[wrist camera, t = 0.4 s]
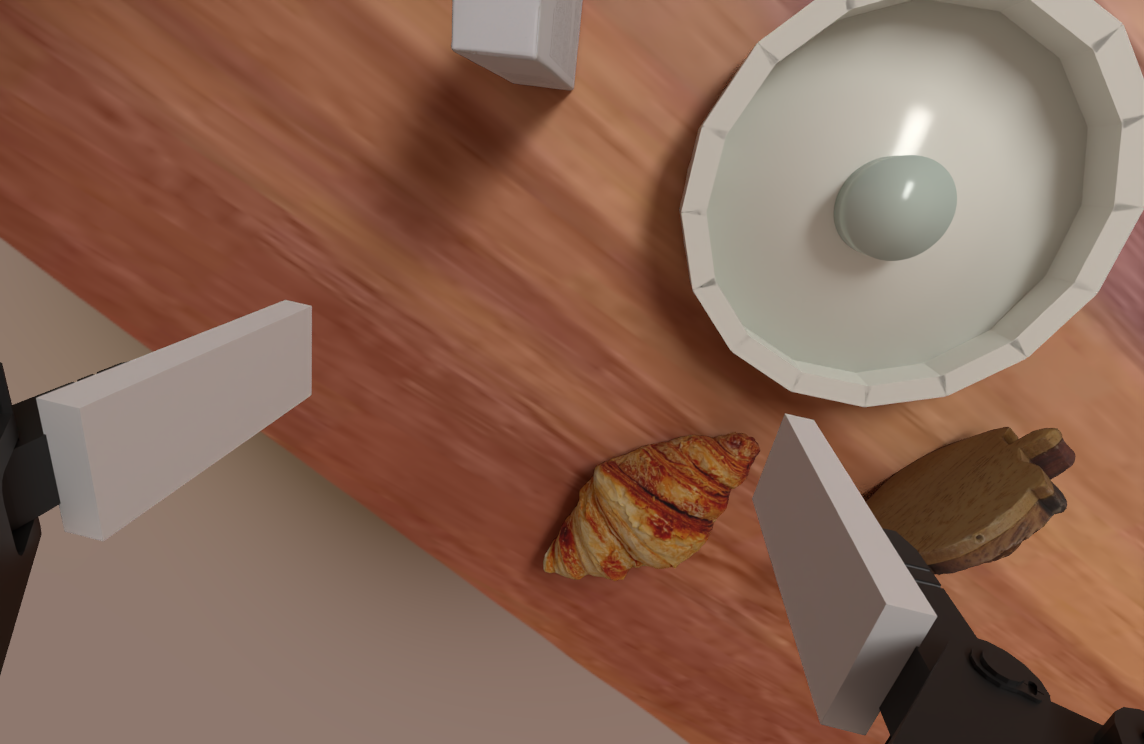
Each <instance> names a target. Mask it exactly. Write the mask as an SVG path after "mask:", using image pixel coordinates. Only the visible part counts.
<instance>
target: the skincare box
mask: <svg viewBox="0 0 1144 744" xmlns="http://www.w3.org/2000/svg"><path fill="white" fill-rule="evenodd" d="M582 1H583V0H453V7H452V46H451V47H452V50H453V51H454V52H456V53H458V54H459V55H461V56H463V57H465V58H467V59H469V60H471V61H472V62H475V63H476V64H478V65H480V66H482V67H484V68H486V69H488V70H489V71H491V72H493V73H495V74H497V75H499V76H501V77H502V78H504V79H506V80H508V81H510V82H512V83H513V84H522V85H530V86H538V87H546V88H554V89H562V90H573V89H574V81H575V71H576V61H577V51H578V41H579V31H580V21H581V11H582Z"/></svg>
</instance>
